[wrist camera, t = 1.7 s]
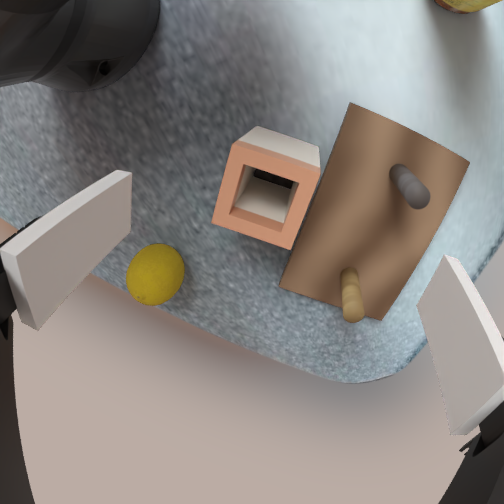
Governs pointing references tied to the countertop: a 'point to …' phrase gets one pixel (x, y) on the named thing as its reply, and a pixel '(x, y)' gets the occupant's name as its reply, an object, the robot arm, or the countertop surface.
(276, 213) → the sleeve
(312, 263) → the pin board
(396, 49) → the countertop surface
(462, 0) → the sauce bottle
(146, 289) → the lemon
